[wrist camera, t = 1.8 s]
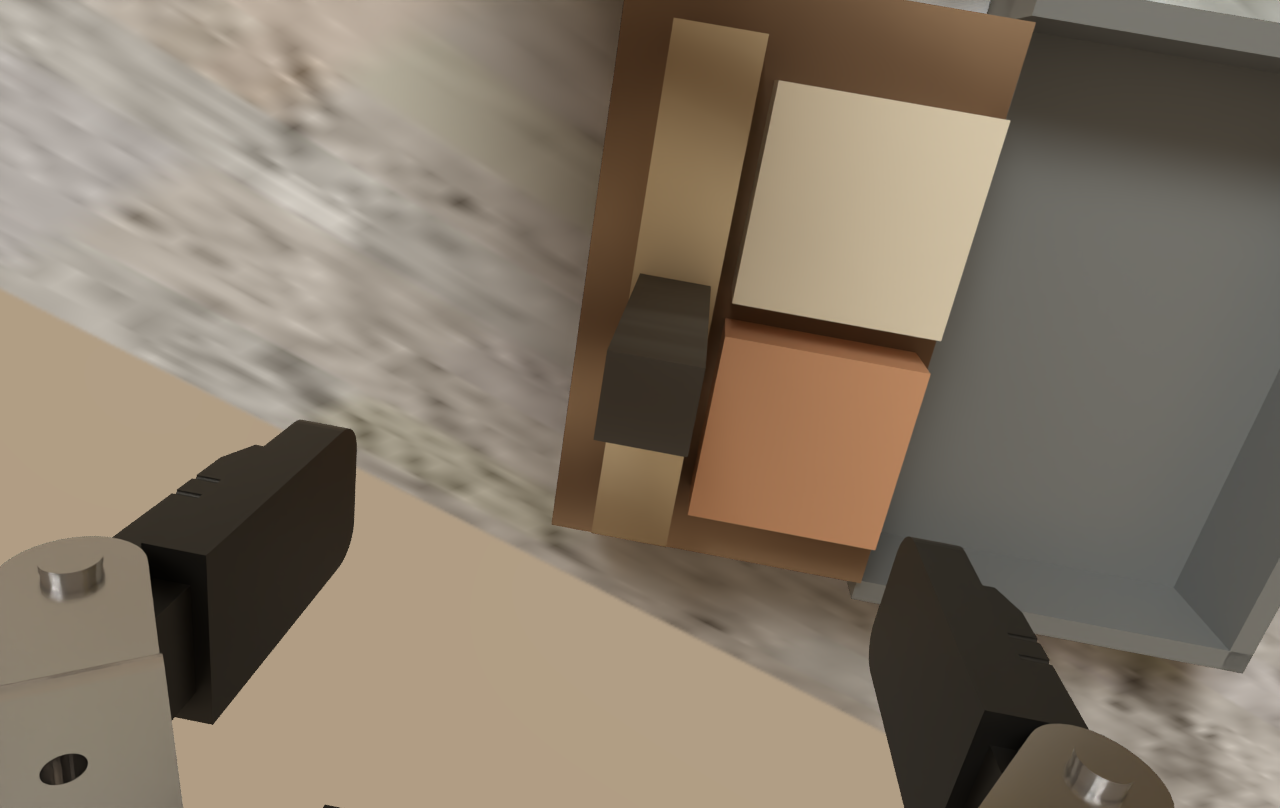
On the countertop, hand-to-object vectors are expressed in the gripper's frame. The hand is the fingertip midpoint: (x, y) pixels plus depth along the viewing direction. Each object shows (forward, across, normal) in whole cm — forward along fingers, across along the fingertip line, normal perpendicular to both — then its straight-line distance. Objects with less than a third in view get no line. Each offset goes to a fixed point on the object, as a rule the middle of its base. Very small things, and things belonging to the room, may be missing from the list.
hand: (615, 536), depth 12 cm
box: (+20, -15, 0) cm, 25 cm away
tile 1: (+15, -5, +3) cm, 16 cm away
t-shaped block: (+15, 0, 0) cm, 15 cm away
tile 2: (+15, -5, -4) cm, 16 cm away
